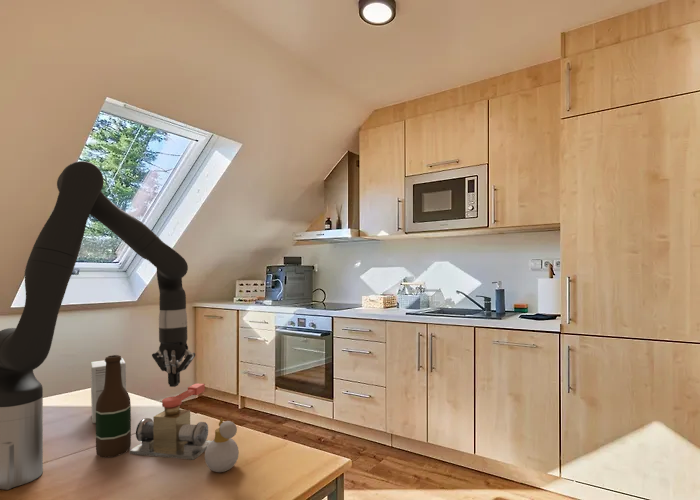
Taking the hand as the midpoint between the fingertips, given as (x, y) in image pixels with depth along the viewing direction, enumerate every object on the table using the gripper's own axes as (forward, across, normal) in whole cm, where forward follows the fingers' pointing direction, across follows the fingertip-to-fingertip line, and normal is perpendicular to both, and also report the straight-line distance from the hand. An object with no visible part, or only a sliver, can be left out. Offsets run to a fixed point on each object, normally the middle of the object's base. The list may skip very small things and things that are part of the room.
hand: (174, 385), depth 123 cm
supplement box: (+13, -28, +7) cm, 31 cm away
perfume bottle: (+12, +26, -20) cm, 35 cm away
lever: (+1, +7, -6) cm, 9 cm away
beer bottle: (+12, -7, -15) cm, 21 cm away
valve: (+12, +7, -11) cm, 18 cm away
